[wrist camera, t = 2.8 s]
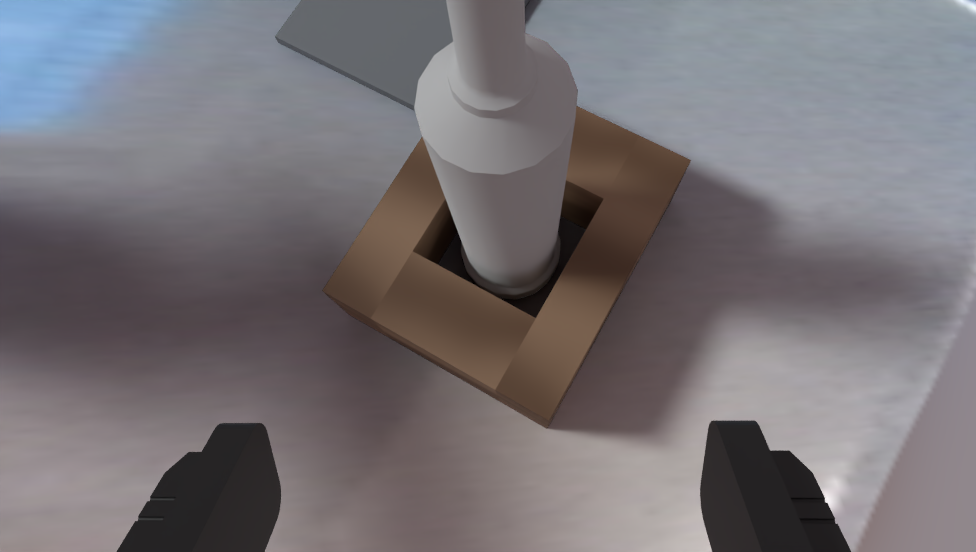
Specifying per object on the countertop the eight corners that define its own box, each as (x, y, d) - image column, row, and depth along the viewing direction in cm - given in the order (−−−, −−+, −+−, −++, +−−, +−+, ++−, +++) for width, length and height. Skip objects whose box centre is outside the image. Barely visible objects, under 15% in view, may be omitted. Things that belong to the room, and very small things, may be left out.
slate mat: (448, 127, 40) (446, 122, 40) (278, 42, 43) (274, 36, 42) (549, -31, 43) (549, -38, 42) (383, -103, 45) (381, -110, 45)
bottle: (554, 207, 39) (586, -235, 15) (565, 298, 37) (621, -27, 13) (460, 217, 39) (341, -203, 15) (467, 308, 38) (349, 5, 14)
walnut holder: (547, 428, 36) (549, 420, 31) (349, 314, 38) (322, 290, 33) (671, 200, 38) (691, 160, 34) (480, 107, 41) (473, 57, 36)
